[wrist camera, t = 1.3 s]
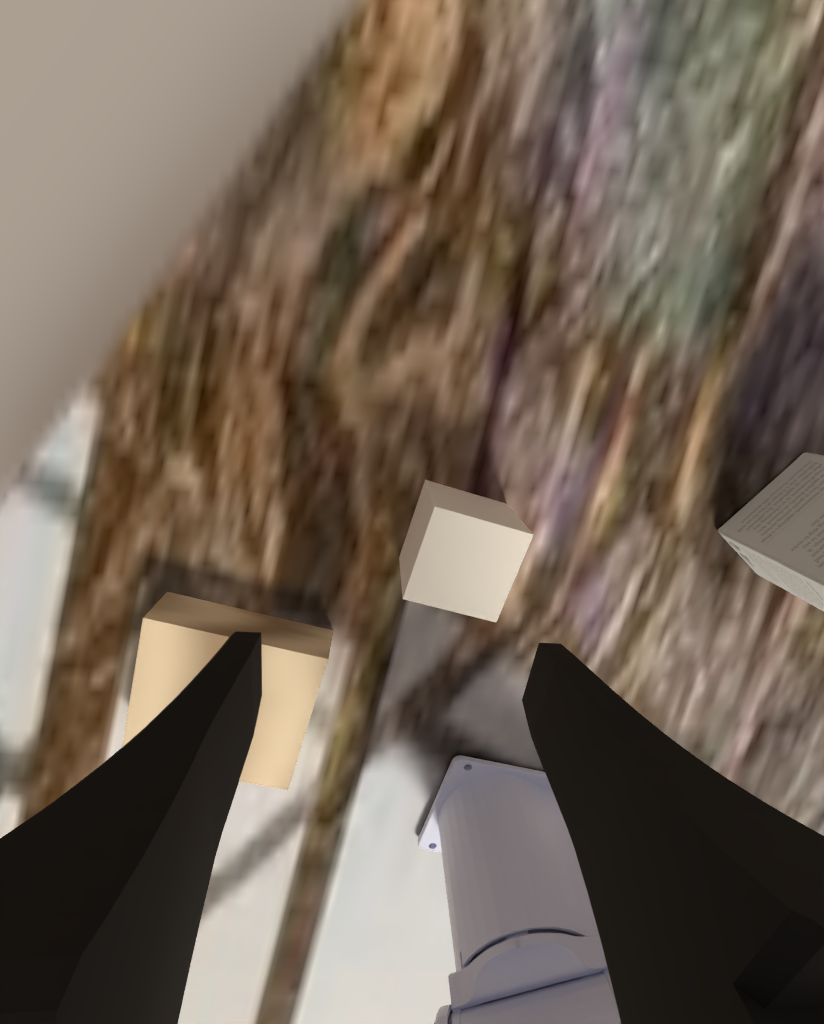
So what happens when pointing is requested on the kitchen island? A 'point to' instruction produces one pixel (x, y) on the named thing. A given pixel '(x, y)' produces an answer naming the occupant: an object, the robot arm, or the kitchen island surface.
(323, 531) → the kitchen island surface
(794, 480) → the skincare box
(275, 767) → the oak base block
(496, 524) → the cream cube
